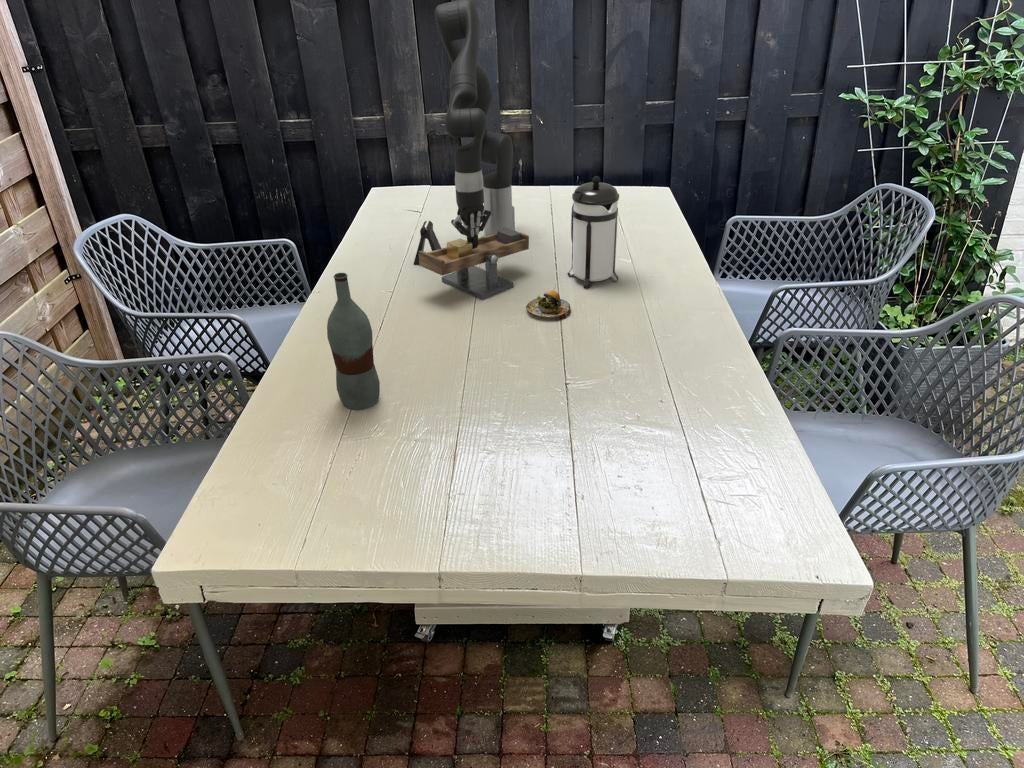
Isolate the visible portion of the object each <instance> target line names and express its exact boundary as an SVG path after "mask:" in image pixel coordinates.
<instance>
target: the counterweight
mask: <svg viewBox="0 0 1024 768" xmlns="http://www.w3.org/2000/svg"><path fill="white" fill-rule="evenodd" d="M516 231H517V230H515V231H514V230H511V229H508V228H506V229H503V230H499V231H497V241H498V242H501V243H504V244H509V243H512V242H516V241H519V240H521V233H522V232H520V233H519V231H517V232H516Z"/></svg>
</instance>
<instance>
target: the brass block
mask: <svg viewBox="0 0 1024 768" xmlns="http://www.w3.org/2000/svg"><path fill="white" fill-rule="evenodd" d="M446 247H447V256H448V257H450V258H452V259H458V258H461V257H465V256H468V255H471V254H472V243H471V242H468V241H467V239H466V240H465V239H463V238H457V239H454V240H450V241H447V242H446Z"/></svg>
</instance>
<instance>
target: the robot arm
mask: <svg viewBox="0 0 1024 768" xmlns="http://www.w3.org/2000/svg"><path fill="white" fill-rule="evenodd" d="M434 18H435V23H436V28H437V30H438V34H439V36H440V38H441V41H442V44H443V46H444V49H445V51H446V54H447V56H448V60H449V62H450V64H451V69H450V72H449V93H450V96H449V97H450V98H449V104H448V108H447V111H446V115H445V119H444V129H445V131H446V134H447V135H448V136H449V137H451V138H453V139H463V138H472V139H471V141H470V142H469V143H467V144H463V145H460V146H458V147H456V148H455V149H454V153H453V157H454V185H455V187H454V188H455V200H456V205H457V213H456V215H457V216H456V217H455V219H451V221H450V223H451V225H452V226H453V227H454V228H455V229H456V230H457V232H458V233H460V234H461V235H463V236H465V237H466V241H468V242H471V243H472V249H474V248H477V247H478V246H477V245H478V238H479V234H480V232H484V235H485V236H488V235H492V234H496V233H497V231H499V230H503V228H505V227H506V228H509V229H511V230H514V231H516V219H515V214H516V213H515V206H513V192H512V177H513V162H514V161H513V160H514V159H513V158H514V155H513V154H514V152H513V151H514V147H513V146H514V145H513V144H514V143H513V140H512V137H511V135H510V134H506V133H499V132H498V133H497V132H490V131H489V130H488V126H487V116H488V114H489V112H490V109H491V107H492V103H493V98H494V93H493V90H492V85H491V82H490V79H489V75H488V74H487V71H486V70H485V69H484V68H483V67H482V66H481V65H480V64H479V63H477V61H478V51H479V40H480V17H479V12H478V9H477V6H476V3H475V2H474V0H454V1H453V0H452V1H450V2H449V1H448V2H445V3H442V4H438V5H437V6H436V8H435V10H434ZM463 39H464V42H463V44H462V46H461V45H460V43H459V42H458V40H463ZM482 163H485V164H492V165H496V170H495V171H491V172H489V173H485V175H483V171H482ZM485 236H484V237H485Z"/></svg>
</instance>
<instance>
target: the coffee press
mask: <svg viewBox="0 0 1024 768" xmlns="http://www.w3.org/2000/svg"><path fill="white" fill-rule="evenodd" d="M571 195H572V196H571V199H572V201H573V203H572V206H571V218H570V219H571V220H570V221H571V223H570V224H571V225H570V226H571V227H570V234H571V235H570V236H571V237H570V238H571V245H572V246H571V253H572V254H571V268H570V270H569V272H567V276H568V277H569V278H572V277H574V276H575V277H576V278H578V279H579V280H582V281H584V284H583V288H584V289H588V290H589V289H590V286H591V283H592V282H599V281H600V282H601V281H605V280H608V279H609V280H611V281H612V282H613V283H617V282H618V281H619V276H618V275H617V273H616V257H617V256H616V255H617V236H618V234H617V233H618V215H619V208H618V203H619V202H618V201H619V200H620V193H619V192H618V190H617V189H616V187H615V186H614V185H612V184H609V183H606V182H601V178H600V176H598V175H595V176H593V177H592V178H591V182H585V183H582V184H580V185H578V186H577V187H576V188H575V189H574V192H573V193H572V194H571ZM571 271H572V273H573V274H571V273H570V272H571ZM613 275H614V277H612V276H613ZM614 278H615V279H614Z"/></svg>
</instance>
